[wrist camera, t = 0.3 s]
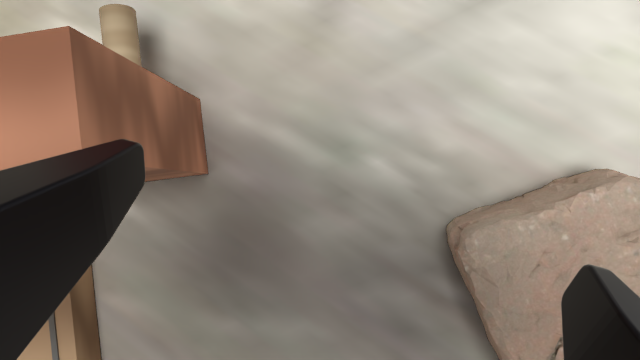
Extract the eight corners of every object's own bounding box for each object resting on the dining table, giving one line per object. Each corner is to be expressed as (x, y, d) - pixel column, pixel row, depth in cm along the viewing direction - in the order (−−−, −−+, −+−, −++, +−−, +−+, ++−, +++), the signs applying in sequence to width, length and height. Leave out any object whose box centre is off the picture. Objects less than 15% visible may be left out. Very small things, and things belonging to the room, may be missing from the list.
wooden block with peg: (208, 173, 24) (82, 160, 13) (118, 185, 25) (-74, 181, 14) (191, 25, 25) (54, -106, 14) (103, 39, 25) (-98, -78, 14)
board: (116, 506, 24) (93, 536, 22) (3, 514, 25) (-30, 543, 23) (73, 98, 25) (48, 90, 23) (-36, 114, 26) (-71, 108, 24)
